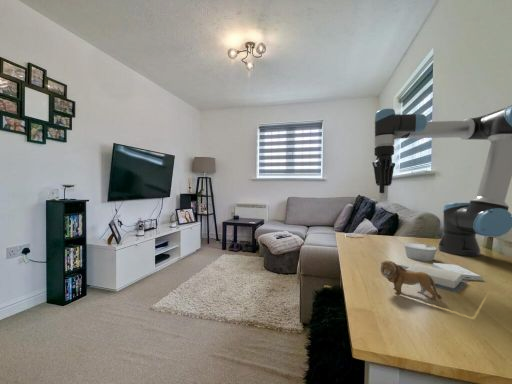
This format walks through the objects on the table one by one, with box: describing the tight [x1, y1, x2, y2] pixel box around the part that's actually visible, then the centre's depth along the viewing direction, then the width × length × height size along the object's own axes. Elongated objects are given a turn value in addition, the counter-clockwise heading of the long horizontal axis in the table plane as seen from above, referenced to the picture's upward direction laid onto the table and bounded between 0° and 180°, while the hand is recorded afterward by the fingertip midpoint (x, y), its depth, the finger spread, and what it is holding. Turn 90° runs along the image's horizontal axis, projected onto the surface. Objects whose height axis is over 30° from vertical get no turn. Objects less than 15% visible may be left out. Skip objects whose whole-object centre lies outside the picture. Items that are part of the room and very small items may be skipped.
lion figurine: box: [380, 260, 442, 301], centre depth 66 cm, size 15×5×9 cm, turn 72°
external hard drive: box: [432, 262, 483, 282], centre depth 82 cm, size 2×8×12 cm
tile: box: [406, 263, 463, 289], centre depth 76 cm, size 10×2×12 cm
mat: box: [398, 264, 469, 294], centre depth 78 cm, size 14×20×1 cm
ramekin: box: [404, 242, 437, 262], centre depth 101 cm, size 11×11×5 cm
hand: (383, 200), depth 103 cm, fingers closed
